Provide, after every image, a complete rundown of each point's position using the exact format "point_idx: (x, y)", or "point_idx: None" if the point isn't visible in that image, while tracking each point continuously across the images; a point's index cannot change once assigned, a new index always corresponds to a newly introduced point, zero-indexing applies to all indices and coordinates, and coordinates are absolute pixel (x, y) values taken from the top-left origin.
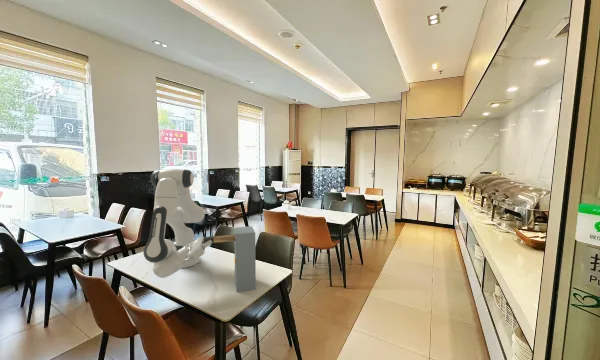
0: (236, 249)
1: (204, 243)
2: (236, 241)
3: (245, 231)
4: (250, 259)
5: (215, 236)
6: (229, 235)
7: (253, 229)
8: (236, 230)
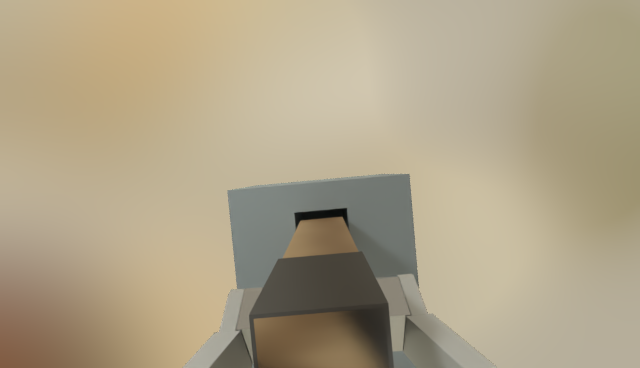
0: (418, 286)
1: (465, 362)
2: (413, 228)
3: (354, 177)
4: None
5: (289, 255)
6: (308, 226)
7: (324, 179)
8: (314, 182)
